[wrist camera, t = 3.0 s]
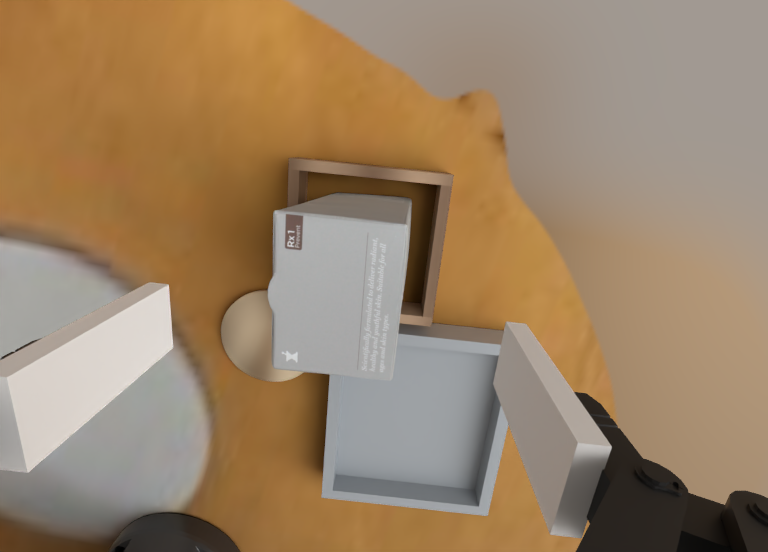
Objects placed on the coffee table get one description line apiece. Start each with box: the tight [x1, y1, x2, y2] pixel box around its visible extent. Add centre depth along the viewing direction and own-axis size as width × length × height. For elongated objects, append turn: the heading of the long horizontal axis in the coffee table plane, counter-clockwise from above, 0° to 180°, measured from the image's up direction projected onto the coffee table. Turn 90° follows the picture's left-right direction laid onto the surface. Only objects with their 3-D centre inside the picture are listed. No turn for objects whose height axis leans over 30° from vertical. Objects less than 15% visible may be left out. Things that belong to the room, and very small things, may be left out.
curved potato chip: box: [221, 290, 304, 382], centre depth 37 cm, size 9×9×1 cm
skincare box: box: [268, 192, 412, 381], centre depth 26 cm, size 8×7×16 cm
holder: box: [287, 157, 454, 327], centre depth 32 cm, size 12×12×3 cm
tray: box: [322, 323, 508, 516], centre depth 37 cm, size 16×18×3 cm
